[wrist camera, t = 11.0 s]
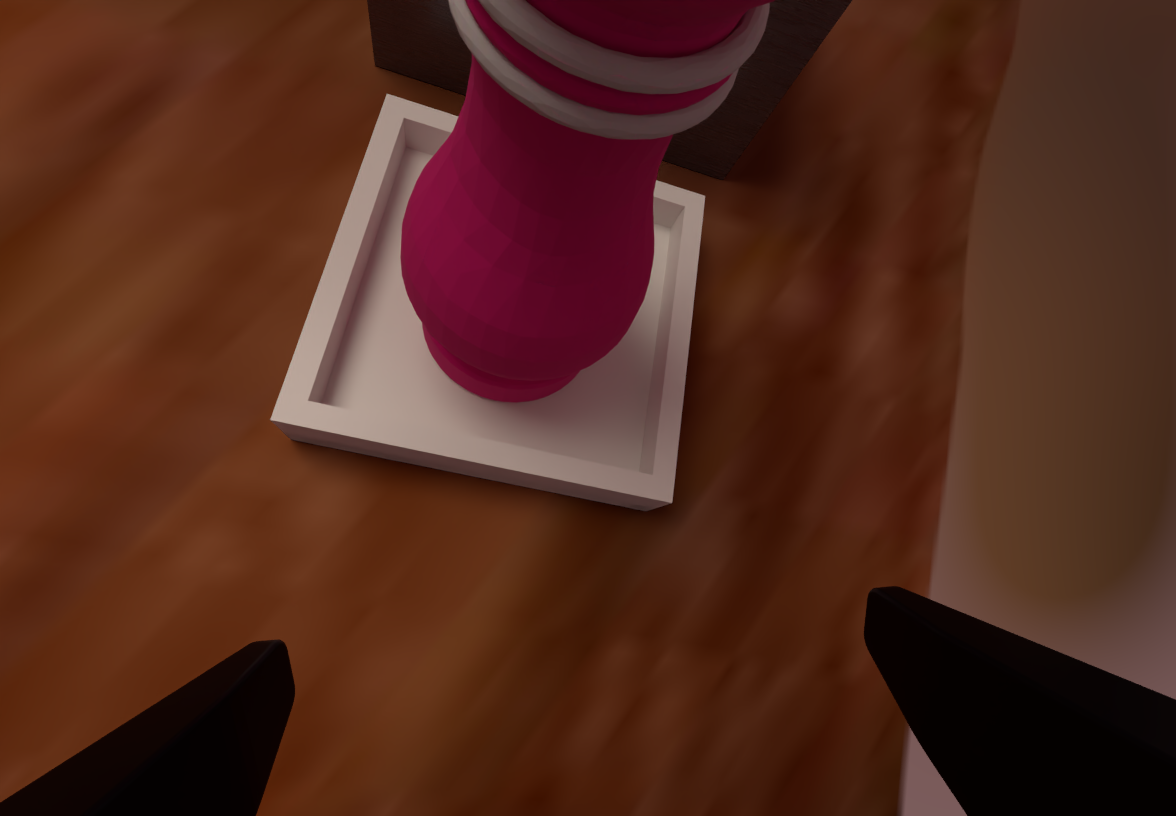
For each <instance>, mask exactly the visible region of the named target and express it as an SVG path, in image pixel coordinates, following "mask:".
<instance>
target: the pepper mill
mask: <svg viewBox="0 0 1176 816" xmlns="http://www.w3.org/2000/svg"><path fill="white" fill-rule="evenodd" d="M773 1H775V0H448V2H449V7H450V12H451V14H452V17H453V19H454V22H455V24H456V27H457V29H458V32H459V34H460V36H461V38H462V39H463V41H464V42H465V44H466V46H467V47H468V49H469V50H470V52H471V53H472V64H471V70H470V75H469V81H468V87H467V93H466V98H465V102H464V104H463V107H462V109H461V112H460V114H459V117H458V119H457V122H456V124H455V127H454V129H453V131H452V133H451V134H450V136H449V137H448V139H447V140H446V141H445V142H444V143H443V145H442V146H441V147H440V148H439V150H438V151H437V152H436V153H435V154H434V156H433V157H432V158H431V159H430V160H429V162H428V163H427V164H426V165H425V167H424V168H423V170H422V172H421V174H420V176H419V177H418V179H417V181H416V183H415V186H414V188H413V191H412V193H411V196H410V198H409V201H408V204H407V207H406V211H405V215H404V218H403V222H402V234H401V255H400V259H401V270H402V278H403V281H404V285H405V289H406V292H407V295H408V297H409V300H410V302H411V304H412V306H413V308H414V310H415V312H416V314H417V316H418V318H419V319H420V320H421V322H422V328H423V333H424V338H425V341H426V343H427V346H428V349H429V351H430V353H431V355H432V356H433V358H434V360H435V361H436V363H437V364H438V365H439V367H440V368H441V369H442V370H443V371H444V372H445V373H446V374H447V375H448V376H449V377H450V378H451V379H452V380H453V381H455V382H456V383H457V384H459V385H460V386H462V387H463V388H464V389H466V390H468V391H470V392H472V393H474V394H477V395H479V396H481V397H484V398H487V399H491V400H495V401H501V402H515V403H517V402H527V401H533V400H538V399H541V398H544V397H546V396H549V395H551V394H553V393H555V392H557V391H559V390H560V389H562V388H563V387H564V386H566V385H567V384H568V383H569V382H571V381H572V380H573V379H574V378H575V377H576V375H577V374H578V373H579V372H580V370H582V369H585V368H587V367H589V366H591V365H592V364H594V363H595V362H597V361H598V360H600V359H601V358H603V357H604V356H606V355H607V354H608V353H609V352H610V351H611V350H612V349H613V348H614V347H615V346H616V345H618V343H619V342H620V341H621V339H622V338H623V337H624V335H625V334H626V333H627V331H628V329H629V328H630V326H631V324H632V322H633V320H634V318H635V316H636V315H637V313H638V311H639V309H640V307H641V305H642V303H643V301H644V299H645V295H646V292H647V288H648V285H649V281H650V276H651V271H652V266H653V259H654V216H653V199H654V189H655V184H656V179H657V174H658V169H659V166H660V164H661V161H662V159H663V157H664V155H665V152H666V150H667V148H668V145H669V143H670V141H671V138H672V136H673V134H676V133H679V132H682V131H684V130H687V129H689V128H691V127H693V126H695V125H697V124H699V123H700V122H702V121H703V120H705V119H706V118H708V117H709V116H710V115H711V114H712V113H713V112H714V111H715V110H716V109H717V108H718V107H719V106H720V105H721V103H722V102H723V101H724V100H725V99H726V97H727V95H728V94H729V92H730V90H731V89H732V87H733V85H734V82H735V79H736V76H737V73H738V69H739V68H740V67H741V66H742V65H743V63H744V62H745V61H746V60H747V59H748V58H749V57H750V56H751V55H752V54H753V53H754V51H755V49H756V47H757V46H758V44H759V42H760V40H761V38H762V36H763V33H764V31H765V28H766V24H767V19H768V15H769V8H770V2H773Z"/></svg>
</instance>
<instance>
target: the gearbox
mask: <svg viewBox="0 0 1176 816" xmlns="http://www.w3.org/2000/svg"><path fill="white" fill-rule="evenodd" d="M851 1H852V0H775V1H773V2H770V8H769V15H768V19H767V24H766V28H765V31H764V33H763V36H762V38H761V40H760V42H759V44H758V46H757V47H756V49H755V51H754V53H753V54H752V55H751V56H750V57H749V58H748V59H747V60H746V61H745V62H744V63H743V65H742V66H741V67H740V68H739V69H738V73H737V76H736V79H735V82H734V85H733V87H732V89H731V90H730V92H729V94H728V95H727V97H726V99H725V100H724V101H723V102H722V103H721V105H720V106H719V107H718V108H717V109H716V110H715V111H714V112H713V113H712V114H711V115H710V116H709V117H708V118H706V119H705V120H703V121H702V122H700V123H699V124H697V125H695V126H693V127H691V128H689V129H687V130H684V131H682V132H679V133H676V134H673V136H672V138H671V141H670V143H669V145H668V148H667V150H666V152H665V155H664V157H663V159H662V160H664V161H667V162H670V163H673V164H676V165H679V166H682V167H685V168H688V169H691V170H694V171H697V172H700V173H703V174H706V175H709V176H712V177H715V178H718V179H721V180H723V179H724V178H725V176H726V175H727V174H728V172H729V171H730V169H731V168H732V167H733V165H734V164H735V162H736V161H737V160H738V158H739V157H740V156H741V154H742V153H743V151H744V150H745V149H746V147H747V146H748V144H749V143H750V142H751V140H752V139H753V137H754V136H755V135H756V133H757V132H758V131H759V129H760V128H761V126H762V125H763V124H764V122H765V121H766V119H767V118H768V117H769V115H770V114H771V112H772V111H773V110H774V108H775V107H776V106H777V104H778V103H779V101H780V100H781V99H782V97H783V96H784V94H785V93H786V92H787V90H788V89H789V87H790V86H791V85H792V83H793V82H794V81H795V79H796V78H797V76H798V75H799V74H800V72H801V71H802V69H803V68H804V67H805V65H806V64H807V62H808V61H809V60H810V58H811V57H812V56H813V54H814V53H815V51H816V50H817V49H818V47H819V46H820V44H821V43H822V42H823V40H824V39H825V37H826V36H827V35H828V33H829V32H830V30H831V29H832V28H833V26H834V25H835V24H836V22H837V21H838V19H839V18H840V17H841V15H842V14H843V12H844V11H845V10H846V8H847V7H848V5H849V4H850V3H851ZM367 2H368V11H369V19H370V28H371V36H372V44H373V53H374V61H375V65H376V66H379V67H382V68H385V69H388V70H391V71H394V72H397V73H400V74H403V75H406V76H409V77H412V78H415V79H418V80H421V81H424V82H427V83H430V84H433V85H436V86H439V87H442V88H445V89H448V90H451V91H454V92H457V93H460V94H464V95H466V93H467V87H468V81H469V75H470V70H471V64H472V53H471V52H470V50H469V49H468V47H467V46H466V44H465V42H464V41H463V39H462V38H461V36H460V34H459V32H458V29H457V27H456V24H455V22H454V19H453V17H452V14H451V12H450V7H449V2H448V0H367Z"/></svg>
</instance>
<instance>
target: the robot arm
mask: <svg viewBox="0 0 1176 816" xmlns="http://www.w3.org/2000/svg"><path fill="white" fill-rule="evenodd" d="M864 639H865V643H866V646H867V649H868V651H869V653H870V654H871V656H872V658H873V660H874V662H875V664H876V665H877V667H878V669H879V671H880V673H881V675H882V677H883V678H884V680H885V682H886V684H887V686H888V688H889V689H890V691H891V693H892V695H893V697H894V699H895V700H896V702H897V704H898V706H899V708H900V710H901V711H902V713H903V715H904V717H905V719H906V721H907V723H908V724H909V726H910V728H911V730H912V731H913V733H914V735H915V736H916V738H917V740H918V741H919V743H920V745H921V746H922V748H923V749H924V751H925V752H926V754H927V756H928V757H929V759H930V760H931V762H932V763H933V765H934V766H935V768H936V769H937V771H938V772H939V774H940V775H941V777H942V778H943V780H944V781H945V783H946V784H947V786H948V787H949V789H950V790H951V792H952V793H953V794H954V796H955V797H956V799H957V801H958V802H959V804H960V805H961V807H962V808H963V809H964V811H965V813H966V814H967V816H1176V700H1175V699H1173V698H1170V697H1168V696H1165V695H1163V694H1160V693H1158V692H1156V691H1153V690H1151V689H1148V688H1146V687H1143V686H1141V685H1139V684H1136V683H1134V682H1131V681H1129V680H1126V679H1124V678H1121V677H1119V676H1116V675H1114V674H1111V673H1109V672H1107V671H1104V670H1102V669H1099V668H1097V667H1094V666H1092V665H1089V664H1087V663H1085V662H1082V661H1080V660H1077V659H1075V658H1072V657H1070V656H1067V655H1065V654H1062V653H1060V652H1058V651H1055V650H1053V649H1050V648H1048V647H1045V646H1043V645H1041V644H1038V643H1036V642H1033V641H1031V640H1028V639H1026V638H1023V637H1021V636H1018V635H1016V634H1014V633H1011V632H1009V631H1006V630H1004V629H1001V628H999V627H996V626H994V625H991V624H989V623H986V622H984V621H982V620H979V619H977V618H974V617H972V616H969V615H967V614H964V613H962V612H959V611H957V610H954V609H952V608H950V607H947V606H945V605H942V604H940V603H938V602H935V601H932V600H930V599H928V598H925V597H923V596H920V595H918V594H916V593H913V592H911V591H908V590H906V589H903V588H901V587H897V586H891V587H880V588H873V589H872V590H871V591H870V592H869V594H868V598H867V608H866V617H865V626H864ZM294 697H295V684H294V679H293V674H292V669H291V664H290V660H289V655H288V650H287V647H286V645H285V643H284V642H283V641H281V640H267V641H256V642H252V643H250V644H248V645H247V646H245V647H244V648H242V649H241V650H239V651H237V652H236V653H234V654H233V655H231V656H230V657H228V658H226V659H225V660H223V661H222V662H220V663H219V664H217V665H215V666H214V667H212V668H211V669H209V670H208V671H206V672H204V673H203V674H201V675H200V676H198V677H197V678H195V679H194V680H192V681H190V682H189V683H187V684H186V685H184V686H183V687H181V688H179V689H178V690H176V691H175V692H173V693H172V694H170V695H168V696H167V697H165V698H164V699H162V700H161V701H159V702H157V703H156V704H154V705H153V706H151V707H150V708H148V709H146V710H145V711H143V712H142V713H140V714H139V715H137V716H135V717H134V718H132V719H131V720H129V721H128V722H126V723H124V724H123V725H121V726H120V727H118V728H117V729H115V730H113V731H112V732H110V733H109V734H107V735H106V736H104V737H102V738H101V739H99V740H98V741H96V742H95V743H93V744H91V745H90V746H88V747H87V748H85V749H84V750H82V751H80V752H79V753H77V754H76V755H74V756H73V757H71V758H69V759H68V760H66V761H65V762H63V763H62V764H60V765H59V766H57V767H55V768H54V769H52V770H51V771H49V772H48V773H46V774H44V775H43V776H41V777H40V778H38V779H37V780H35V781H33V782H32V783H30V784H29V785H27V786H26V787H24V788H22V789H21V790H19V791H18V792H16V793H15V794H13V795H11V796H10V797H8V798H7V799H5V800H4V801H2V802H0V816H256V814H257V811H258V808H259V805H260V803H261V800H262V797H263V794H264V791H265V788H266V785H267V782H268V779H269V776H270V773H271V770H272V767H273V764H274V761H275V758H276V755H277V752H278V749H279V746H280V742H281V739H282V736H283V733H284V730H285V727H286V724H287V721H288V718H289V715H290V712H291V709H292V706H293V702H294Z"/></svg>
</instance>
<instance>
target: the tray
mask: <svg viewBox="0 0 1176 816" xmlns="http://www.w3.org/2000/svg"><path fill="white" fill-rule="evenodd" d="M457 119H458V116H455V115H452V114H449V113H446V112H443V111H439V110H436V109H433V108H430V107H427V106H424V105H421V104H418V103H415V102H412V101H408V100H405V99H402V98H399V97H396V96H393V95H390V94H387V95H386V98H385V101H384V104H383V106H382V109H381V112H380V115H379V118H378V120H377V123H376V126H375V129H374V132H373V134H372V137H371V140H370V143H369V146H368V148H367V151H366V154H365V157H364V160H363V162H362V165H361V168H360V171H359V174H358V176H357V179H356V182H355V185H354V188H353V190H352V193H351V196H350V199H349V201H348V204H347V207H346V210H345V213H344V215H343V218H342V221H341V224H340V227H339V229H338V232H337V235H336V238H335V241H334V243H333V246H332V249H331V252H330V255H329V257H328V260H327V263H326V266H325V269H324V271H323V274H322V277H321V280H320V283H319V285H318V288H317V291H316V294H315V297H314V299H313V302H312V305H311V308H310V311H309V313H308V316H307V319H306V322H305V325H304V327H303V330H302V333H301V336H300V338H299V341H298V344H297V347H296V350H295V352H294V355H293V358H292V361H291V364H290V366H289V369H288V372H287V375H286V378H285V380H284V383H283V386H282V389H281V392H280V394H279V397H278V400H277V403H276V406H275V408H274V411H273V414H272V417H271V421H272V422H273V423H274V424H275V425H276V426H277V427H278V428H279V429H280V430H281V431H282V432H283V433H285V434H286V435H287V436H288V437H289V438H290V439H291V440H295V441H300V442H305V443H310V444H315V445H320V446H325V447H330V448H335V449H340V450H345V451H350V452H355V453H360V454H365V455H370V456H375V457H380V458H385V459H390V460H394V461H399V462H404V463H409V464H414V465H419V466H424V467H429V468H434V469H439V470H444V471H449V472H454V473H459V474H464V475H469V476H474V477H479V478H484V479H489V480H494V481H498V482H503V483H508V484H513V485H518V486H523V487H528V488H533V489H538V490H543V491H548V492H553V493H558V494H563V495H568V496H573V497H578V498H583V499H588V500H593V501H598V502H602V503H607V504H612V505H617V506H622V507H627V508H632V509H637V510H642V511H649V510H652V509H655V508H658V507H661V506H665V505H668V504H671V503H672V500H673V491H674V482H675V472H676V463H677V454H678V444H679V435H680V426H681V417H682V407H683V398H684V389H685V379H686V370H687V361H688V351H689V342H690V333H691V323H692V314H693V305H694V295H695V286H696V277H697V267H698V258H699V249H700V240H701V230H702V221H703V212H704V202H705V196H704V195H701V194H697V193H694V192H691V191H688V190H685V189H682V188H679V187H676V186H673V185H669V184H666V183H663V182H660V181H657V180H656V184H655V189H654V199H653V216H654V259H653V266H652V271H651V276H650V281H649V285H648V288H647V292H646V295H645V299H644V301H643V303H642V305H641V307H640V309H639V311H638V313H637V315H636V316H635V318H634V320H633V322H632V324H631V326H630V328H629V329H628V331H627V333H626V334H625V335H624V337H623V338H622V339H621V341H620V342H619V343H618V345H616V346H615V347H614V348H613V349H612V350H611V351H610V352H609V353H608V354H607V355H606V356H604V357H603V358H601V359H600V360H598V361H597V362H595V363H594V364H592V365H591V366H589V367H587V368H585V369H582V370H580V372H579V373H578V374H577V375H576V377H575V378H574V379H573V380H572V381H571V382H569V383H568V384H567V385H566V386H564V387H563V388H562V389H560V390H559V391H557V392H555V393H553V394H551V395H549V396H546V397H544V398H541V399H538V400H533V401H527V402H517V403H515V402H501V401H495V400H491V399H487V398H484V397H481V396H479V395H477V394H474V393H472V392H470V391H468V390H466V389H464V388H463V387H462V386H460V385H459V384H457V383H456V382H455V381H453V380H452V379H451V378H450V377H449V376H448V375H447V374H446V373H445V372H444V371H443V370H442V369H441V368H440V367H439V365H438V364H437V363H436V361H435V360H434V358H433V356H432V355H431V353H430V351H429V349H428V346H427V343H426V341H425V338H424V333H423V328H422V322H421V320H420V319H419V318H418V316H417V314H416V312H415V310H414V308H413V306H412V304H411V302H410V300H409V297H408V295H407V292H406V289H405V285H404V281H403V278H402V270H401V259H400V255H401V234H402V222H403V218H404V215H405V211H406V207H407V204H408V201H409V198H410V196H411V193H412V191H413V188H414V186H415V183H416V181H417V179H418V177H419V176H420V174H421V172H422V170H423V168H424V167H425V165H426V164H427V163H428V162H429V160H430V159H431V158H432V157H433V156H434V154H435V153H436V152H437V151H438V150H439V148H440V147H441V146H442V145H443V143H444V142H445V141H446V140H447V139H448V137H449V136H450V134H451V133H452V131H453V129H454V127H455V124H456V122H457Z"/></svg>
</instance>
